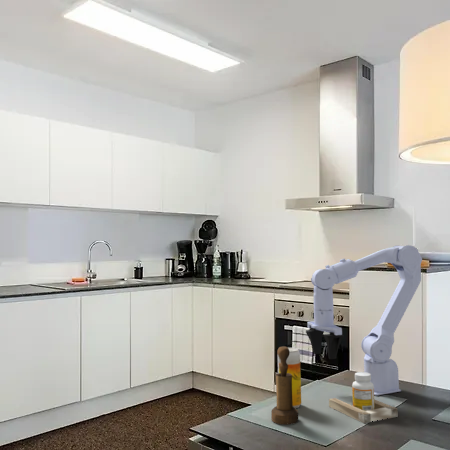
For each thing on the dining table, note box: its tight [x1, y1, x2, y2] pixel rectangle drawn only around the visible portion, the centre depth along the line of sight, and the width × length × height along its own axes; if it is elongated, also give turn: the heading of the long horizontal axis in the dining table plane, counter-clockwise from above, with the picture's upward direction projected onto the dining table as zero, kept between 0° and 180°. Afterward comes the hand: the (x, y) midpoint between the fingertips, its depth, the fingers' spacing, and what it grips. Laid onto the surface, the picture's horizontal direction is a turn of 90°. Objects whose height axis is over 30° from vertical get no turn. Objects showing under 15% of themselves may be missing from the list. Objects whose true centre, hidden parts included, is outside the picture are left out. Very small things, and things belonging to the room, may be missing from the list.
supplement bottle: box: [351, 371, 375, 411], centre depth 126 cm, size 5×5×10 cm
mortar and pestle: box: [271, 345, 299, 426], centre depth 121 cm, size 7×6×18 cm
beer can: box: [277, 347, 302, 409], centre depth 132 cm, size 6×6×15 cm
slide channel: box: [328, 397, 398, 424], centre depth 126 cm, size 10×14×2 cm
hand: (324, 356), depth 145 cm, fingers open, 7 cm apart
